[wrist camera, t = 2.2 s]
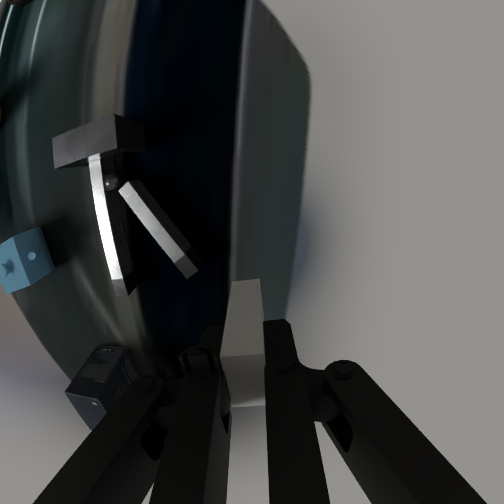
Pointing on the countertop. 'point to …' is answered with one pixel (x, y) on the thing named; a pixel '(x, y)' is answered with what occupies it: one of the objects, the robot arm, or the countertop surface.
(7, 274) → the blue teapot
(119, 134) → the collar
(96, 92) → the countertop surface
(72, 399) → the box
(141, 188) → the tongs jaw
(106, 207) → the tongs fixed
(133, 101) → the countertop surface
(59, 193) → the countertop surface
